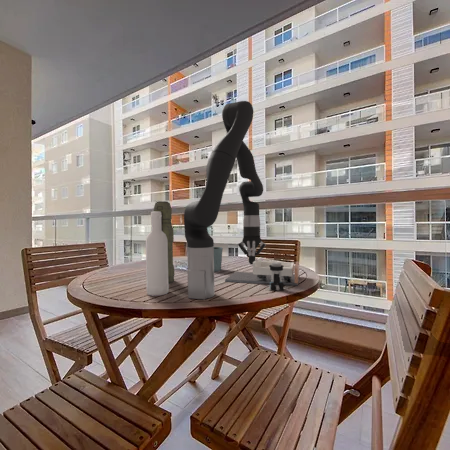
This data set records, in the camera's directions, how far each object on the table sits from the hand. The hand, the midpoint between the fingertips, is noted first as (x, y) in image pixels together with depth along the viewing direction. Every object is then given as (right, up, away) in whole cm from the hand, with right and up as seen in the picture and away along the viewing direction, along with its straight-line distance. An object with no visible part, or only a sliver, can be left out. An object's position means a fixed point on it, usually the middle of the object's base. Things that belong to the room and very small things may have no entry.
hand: (252, 264), depth 115 cm
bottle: (-37, -8, -21) cm, 43 cm away
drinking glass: (-18, -7, +22) cm, 29 cm away
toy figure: (+7, -7, -19) cm, 21 cm away
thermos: (-39, -7, -3) cm, 40 cm away
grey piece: (+5, -7, -1) cm, 8 cm away
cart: (+10, -5, -3) cm, 11 cm away
